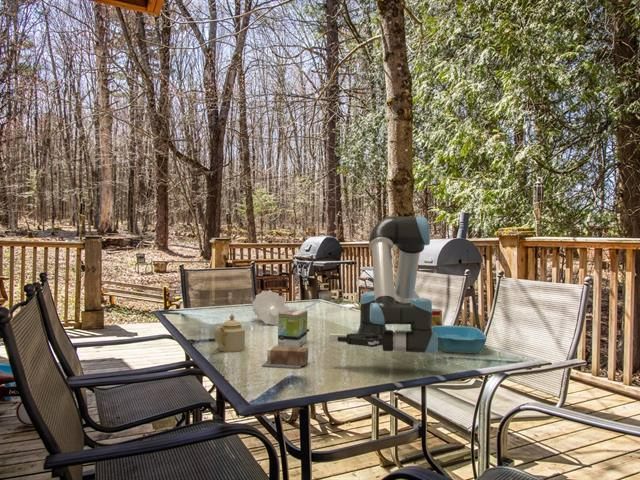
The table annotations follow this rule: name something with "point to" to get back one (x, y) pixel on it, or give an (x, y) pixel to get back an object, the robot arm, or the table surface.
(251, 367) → the table surface
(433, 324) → the canned food
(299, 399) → the table surface
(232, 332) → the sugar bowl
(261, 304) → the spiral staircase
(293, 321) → the tea box
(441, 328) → the casserole dish
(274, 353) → the walnut block
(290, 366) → the mat
